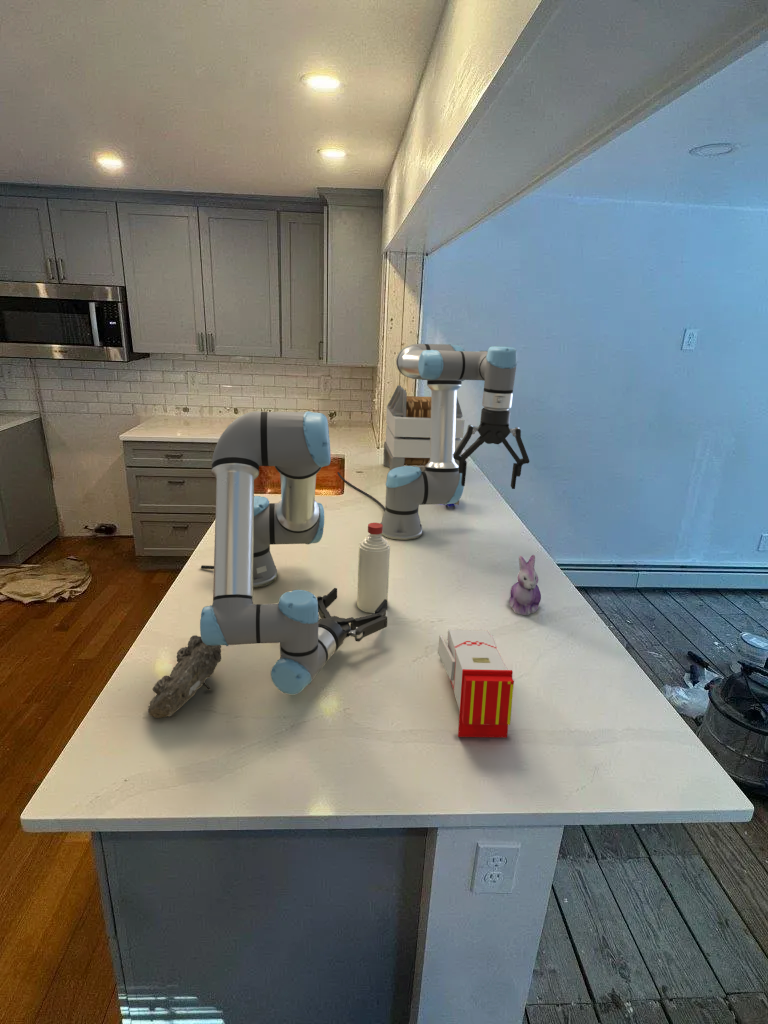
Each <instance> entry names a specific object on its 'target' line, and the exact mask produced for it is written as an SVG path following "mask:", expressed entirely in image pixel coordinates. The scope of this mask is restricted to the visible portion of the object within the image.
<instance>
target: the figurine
mask: <svg viewBox="0 0 768 1024" xmlns="http://www.w3.org/2000/svg"><path fill="white" fill-rule="evenodd" d="M535 563H536V555H535V554H532V555H530V557H529V559H528V561H526V560H525V558H524V556H523V555H519V557H518V564H519V571H518V573H517V578H516V581H517V582H515V583H514V584H513V585H512V586H511V588H510V593H509V602H508V603H509V607H510V608H511V609H512V610H513V613H515V614H518V615H524V616H529V615H530V614H534V613H536V612H537V611H538V609H539V606H540V603H541V600H542V594H541V589H540V588H539V585H538V583H539V575H538V573H537V571H536V567H535V565H536V564H535Z"/></svg>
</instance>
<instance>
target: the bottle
mask: <svg viewBox="0 0 768 1024" xmlns="http://www.w3.org/2000/svg"><path fill="white" fill-rule="evenodd" d="M390 557H391V545H390V541H388V540H387V539H386V537H384V536H383V535H381V534H377V535H375V534H370V533H368V535H366V537H364V538H363V539H361V540H360V542H359V543H358V559H357V561H358V563H357V564H358V565H357V568H358V569H357V598H356V606H357V608H358V609H359V610H360V611H362V612H364V613H365V612H366V613H369V614H375V610H376V609H377V608H378V607H379V605H380V604H381V603H382V602H383V601H384V599H387V600H389V597H388V596H389V577H390V563H391V562H390V559H391V558H390Z"/></svg>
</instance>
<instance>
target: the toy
mask: <svg viewBox="0 0 768 1024" xmlns="http://www.w3.org/2000/svg"><path fill="white" fill-rule="evenodd" d="M446 640H447V643H446V641H445V639H444V636H443V635H442V634H439V637H438V646H437V656H438V657H439V659H440V661H441V663H442V666H443V668H444V670H445V672H446V674H447V677H448V679H449V681H450V684H451V687H452V690H453V693H454V697H455V701H456V705H457V708H458V711H459V714H458V715H459V716H458V730H457V731H458V732H457V737H458V738H508V731H509V726H510V725H511V717H512V707H513V697H514V696H513V695H514V684H515V680H514V679H513V673H514V671H513V670H512V669H508V667H507V665H506V662H505V661H504V659H503V658H502V655H501V653H500V651H499V649H498V647H497V643H496V639H495V637H494V635H493V634H491V632H490V631H489V629H467V628H466V629H465V628H463V629H461V628H460V629H459V628H448V630H447V639H446Z"/></svg>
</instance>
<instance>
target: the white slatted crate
mask: <svg viewBox="0 0 768 1024" xmlns="http://www.w3.org/2000/svg"><path fill="white" fill-rule="evenodd" d="M407 394H408V393H407V390H406V389H404V388H403V387H402V385H399V384H398V385H397V386H396V388H395V390H394V392H393V394H392V395H391V398H390V400H389V402H388V404H387V405H386V413H385V414H386V415H385V423H386V428H385V438H384V442H383V466H384V467H388V468H389V471H390V470H392V469H394V468H397V467H402V466H416V467H425V465H426V464H427V463H428V462H429V461H430V431H431V396H415V395H414V396H413V395H412V396H411V395H407ZM464 429H465V419H464V418H463V411H462V408H461V405H460V402H459V398H458V397H457V398H456V429H455V450H456V449H457V447H458V446H459V444H460V442H461V441H462V439H463V437H464V431H465V430H464ZM462 454H463V451H462V452H461V454H460V455H462ZM454 461H455V463H456V464H457V465H458V466H459V461H458V460H456V459H454Z"/></svg>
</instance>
